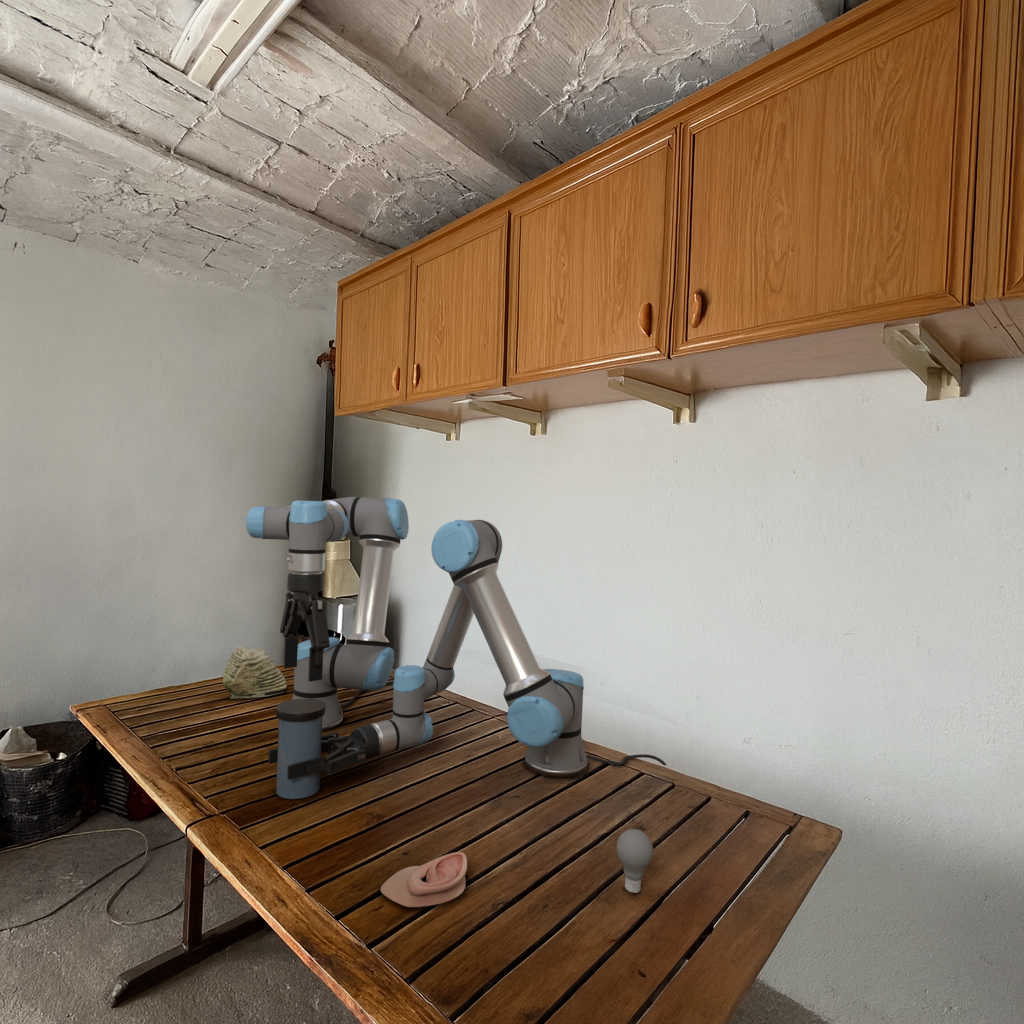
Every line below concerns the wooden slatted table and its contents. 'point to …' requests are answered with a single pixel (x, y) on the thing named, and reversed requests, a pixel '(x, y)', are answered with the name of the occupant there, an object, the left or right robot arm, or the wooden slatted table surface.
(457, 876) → the anatomical model
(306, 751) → the jar
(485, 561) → the right robot arm
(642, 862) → the light bulb
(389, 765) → the wooden slatted table surface
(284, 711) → the lid
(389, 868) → the wooden slatted table surface
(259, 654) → the fossil
